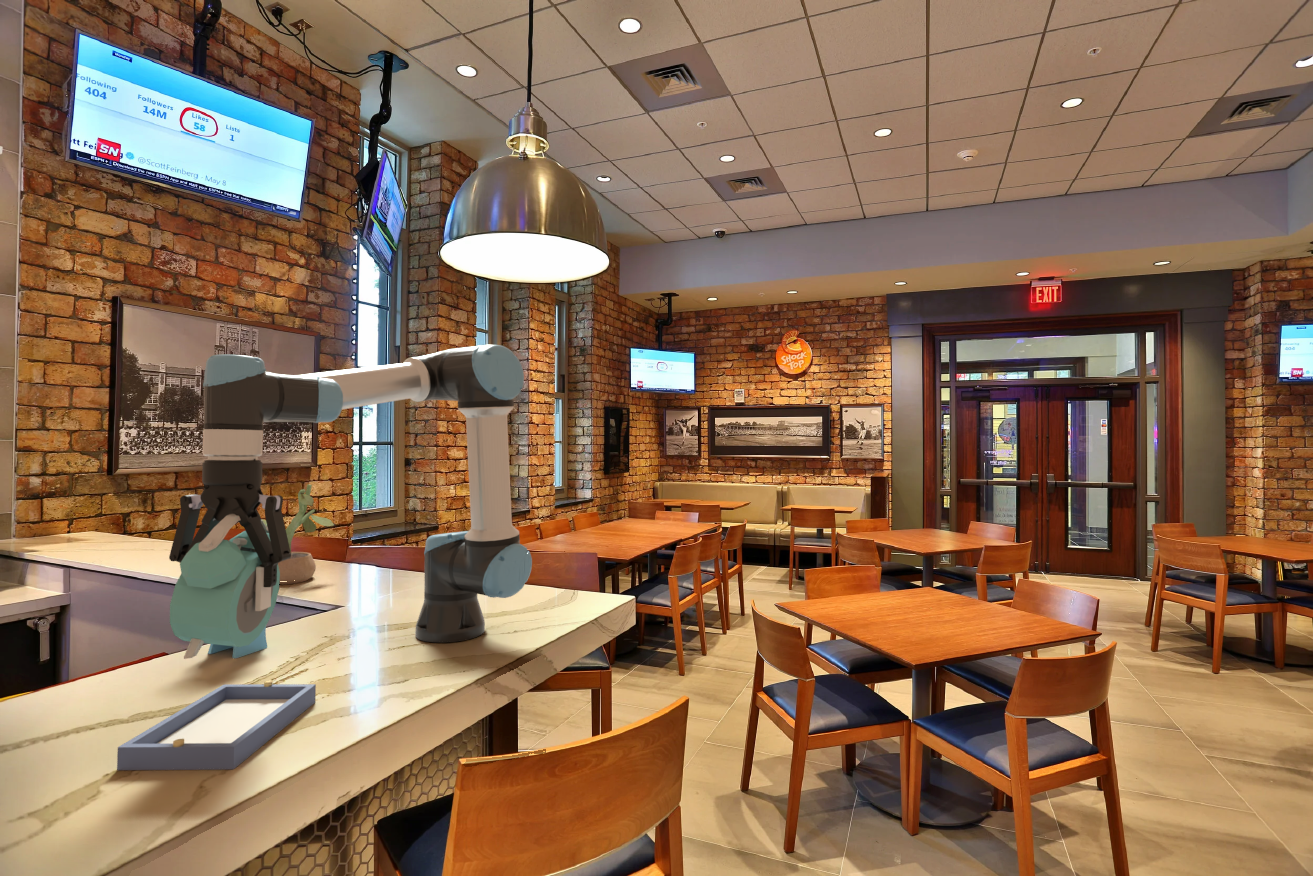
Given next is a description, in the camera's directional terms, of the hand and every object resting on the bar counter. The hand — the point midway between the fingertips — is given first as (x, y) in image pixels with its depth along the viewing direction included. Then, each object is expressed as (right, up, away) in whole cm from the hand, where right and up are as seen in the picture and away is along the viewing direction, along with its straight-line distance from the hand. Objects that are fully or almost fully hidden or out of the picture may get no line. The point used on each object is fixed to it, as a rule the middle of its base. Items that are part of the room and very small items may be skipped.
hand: (229, 608), depth 96 cm
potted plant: (-49, -19, +103) cm, 116 cm away
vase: (-23, -19, +37) cm, 47 cm away
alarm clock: (0, -6, 0) cm, 6 cm away
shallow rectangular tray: (0, -18, 0) cm, 18 cm away
